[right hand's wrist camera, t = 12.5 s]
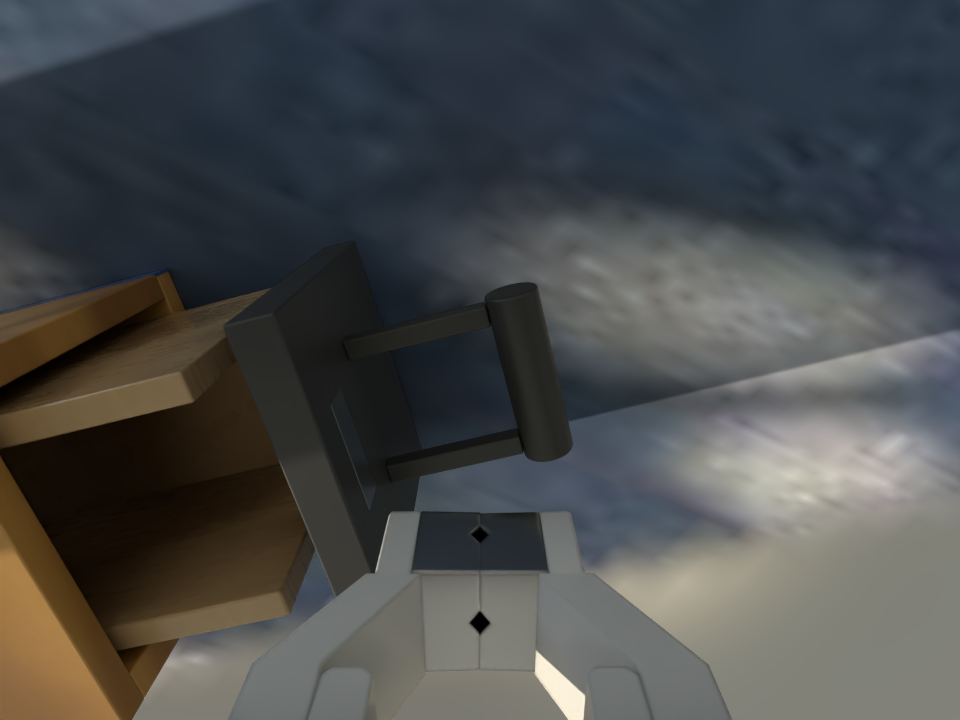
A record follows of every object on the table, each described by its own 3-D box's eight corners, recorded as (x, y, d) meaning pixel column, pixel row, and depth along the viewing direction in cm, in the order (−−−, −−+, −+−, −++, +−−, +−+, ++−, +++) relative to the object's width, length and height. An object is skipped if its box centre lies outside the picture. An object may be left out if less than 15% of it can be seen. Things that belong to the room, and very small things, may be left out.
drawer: (512, 198, 21) (535, 246, 13) (564, 423, 24) (610, 584, 16) (-53, 345, 23) (-367, 473, 14) (60, 537, 26) (-146, 738, 17)
